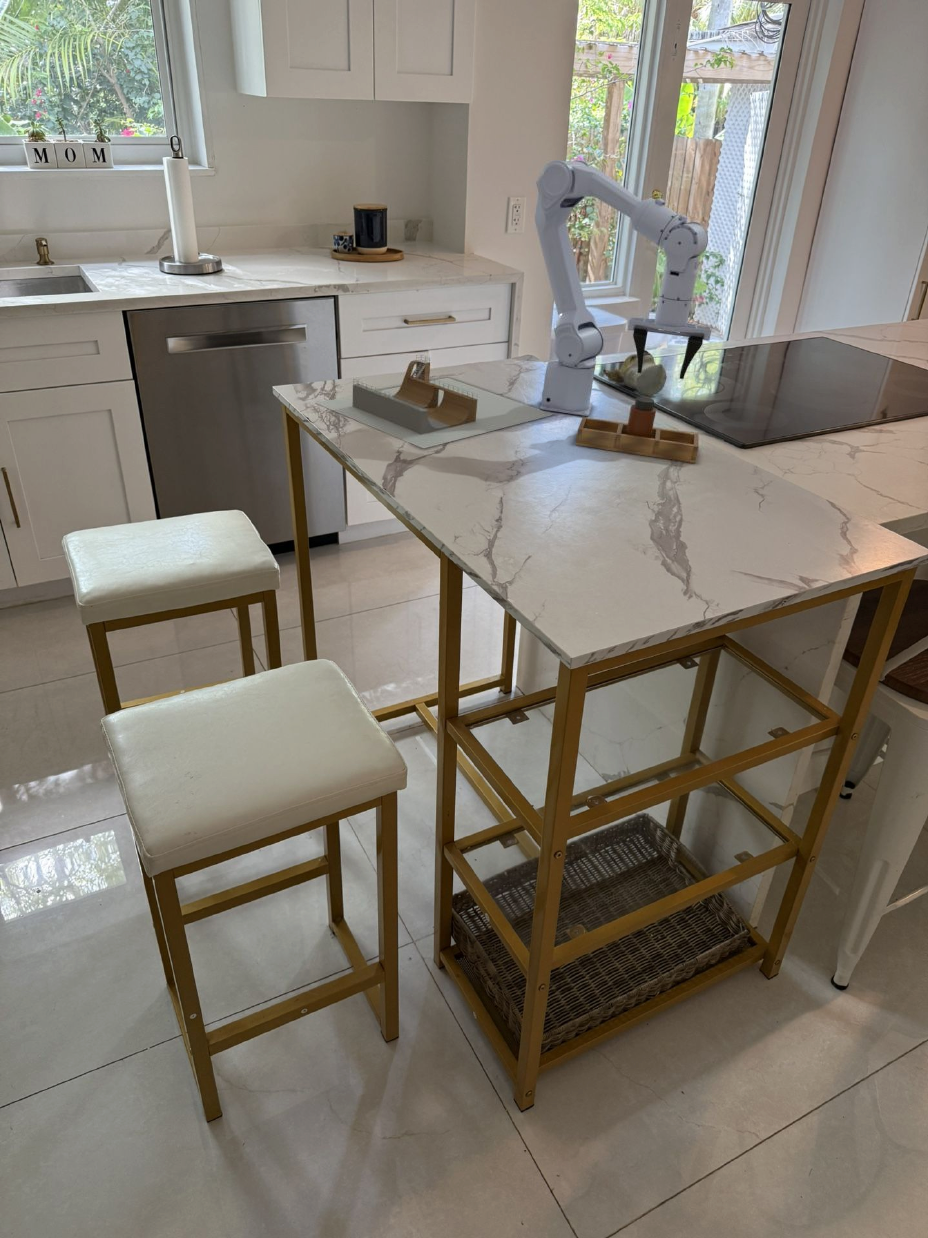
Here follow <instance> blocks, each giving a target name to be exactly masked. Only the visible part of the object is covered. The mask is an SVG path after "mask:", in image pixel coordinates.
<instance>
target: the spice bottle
mask: <svg viewBox="0 0 928 1238" xmlns="http://www.w3.org/2000/svg"><path fill="white" fill-rule="evenodd" d="M634 400H635V401H634V404H632V405H630V409H629V414H628V419H627V420H628V421H627V423H628V425H627V431H626V435H632V436H639V437H646V438H651V434H652V429H653V427H654V423H655V418H656V413H657V408H655V407H654V405H655V400H654V399H653V398H650V397H648V396H638V397H635V399H634Z"/></svg>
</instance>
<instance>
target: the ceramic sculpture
mask: <svg viewBox="0 0 928 1238" xmlns="http://www.w3.org/2000/svg"><path fill="white" fill-rule="evenodd" d="M602 371H603V373H604V375H605V377H607V378H608V379H609V380H610V381H612V382H614V383H618V384H619V383H621V384H624V385H625V386H626V387H628V388H629V389H630V388H631V389H633V390H637V391H638V393H639V394H640V395H643V396H645V397H651V396H654V395H657V394H659V393H661V391H662V390H663V389H664V387H665V384H666V382H667V378H668V376H667V370H666V368H665V367H664V366H663V364H662V363H658V364H657V363H656V362H655V358H654V355H653V354H651V353H650V352H649V351H648V350H644V357H643V366H642V372H641V373H637V372H638V358H637V353H634V354H633V353H632V354H630V355H628V356H627V357H626V358H625V360H624V361H623V363H622V366H621V367H620V369H617V368H615V369H611V370H609V369H603V370H602Z"/></svg>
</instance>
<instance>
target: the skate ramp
mask: <svg viewBox="0 0 928 1238" xmlns="http://www.w3.org/2000/svg"><path fill="white" fill-rule="evenodd" d="M419 358H420V359H419ZM414 367H415V370H414ZM413 370H414V371H413ZM430 372H431V357H429V356H426V355H423V354H420V357H419V354H417V355H416V358H415V359H414V360H411V361H410V362H409V363H408V365H407V369H406V371H405V374H404V376H403V379H402V383H401V385H400V386H397V387H392V388H386V389H380V388H378V390H377V388H376V387H375V386H372V385H370V387H369V386H368V384H366V383H363V382H361V381H360V380H356V379H355V378H354V379H353V384H352V395H350V396H344V397H339V398H334V399H329V400H324V401H319V402H315V404H316V405H319V406H321V407H324V408H326V409H328V410H331V411H333V412H336V413H337V414H340V415H343V416H345V417H348V418H350V419H353V420H355V421H357V422H359V423H362V424H364V425H366V426H368V427H372V428H373V429H376V430H378V431H381V432H383V433H385V434H388V435H390V436H393V437H395V438H397V439H399V440H402V441H405V442H407V443H409V444H412V445H414V446H416V447H419V448H421V449H427V448H431V447H435V446H438V445H443V444H447V443H450V442H454V441H457V440H462V439H465V438H470V437H473V436H478V435H481V434H485V433H489V432H493V431H497V430H500V429H505V428H508V427H513V426H516V425H519V424H524V423H528V422H531V421H535V420H539V419H543V418H547V417H551V416H554V415H555V414H553V413H551V412H548V411H546V410H542V409H539V408H537V407H533V406H531V405H529V404H525V403H522V402H520V401H516V400H513V399H510V398H508V397H504V396H502V395H500V394H496V393H493V392H490V391H488V390H484V389H481V388H479V387H476V386H474V385H470V384H468V383H464V382H461V381H458V380H455V379H452V378H449V377H444V378H439V379H435V378H433V379H432V380H430ZM360 383H361V384H360Z"/></svg>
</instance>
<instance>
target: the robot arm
mask: <svg viewBox="0 0 928 1238" xmlns="http://www.w3.org/2000/svg"><path fill="white" fill-rule="evenodd" d="M535 185H536V188H537V198H536V206H535V213H534V223H535V227H536V231H537V236H538V240H539V242H540V246H541V251H542V254H543V255H542V256H543V259H544V264H545V268H546V272H547V276H548V280H549V284H550V288H551V292H552V297H553V300H554V304H555V308H556V311H557V319H556V323H555V324H554V327H553V331H554V336H555V339H554V347H553V348H554V354H555V356H556V358H557V360H551V359H550V360H548V361H547V363H546V368H545V373H544V380H543V388H542V392H541V403H540V404H541V405H540V410H542V411H549V412H556V413H563V414H570V415H577V416H582V417H589V416H590V413H591V410H592V408H593V403H592V402H591V396H592V390H593V382H594V379H595V378H594V376H595V371H596V366H597V365H596V364H597V361H596V360H597V357H598V356H599V355H600V354H601V353H602V351H603V350H604V347H605V336H604V334H603V332H602V330H601V329H600V328H599V326H598V324H597V323H596V322H597V321H596V317H595V315H593V314H592V313H591V311H589V309H588V308H587V306H586V301H585V297H584V293H583V288H582V285H581V284H582V283H581V280H580V276H579V272H578V267H577V263H576V259H575V255H574V250H573V247H572V243H571V238H570V234H569V230H568V229H569V228H568V226H567V221H568V219H569V217H570V216H571V214H572V212H573V211H574V209H575V207H576V206H577V205H579V204H580V203H581V202H582V201H583V200H584V199H585V198H586V197H594V198H596V199H597V200H599V201H601V202H603V203H605V204H606V205H608V206H609V207H611V208H613V209H614V210H616V211H618V212H619V213H621V214H623V215H625V216H626V217H628V218H630V222H631V226H632V229H633V230H634V231H635V232H637V233H638V234H640V235H641V236H642V237H644V238H646V239H647V240H649V241H650V242H652V243H653V244H655V245H656V246H658V247H659V248H661V249H663V252H664V254H665V256H666V259H665V265H664V267H663V274H662V279H661V283H660V288H659V289H660V290H659V293H658V294H659V295H658V300H657V306H656V311H655V317H654V318H646V317H645V318H644V317H643V318H642V317H631V316H630V317H629V319H628V320H629V321H628V325H627V330H628V331H633V332H632V338H633V341H634V346H635V349H636V350H635V351H636V354H637V358H638V372H637V373H641V372H642V366H643V357H644V350H645V349H646V345H647V337H648V333H654V334H660V335H661V334H662V335H663V334H664V335H669V336H677V337H684V338H685V337H686V338H687V343H686V349H685V354H684V357H683V361H682V365H681V368H680V373H679V379H680V380H684V379H685V376H686V373H687V370H688V368H689V366H690V364H691V362H692V361H693V359H694V357H695V356H696V354H697V353H698V352H699V350H700V349H701V347H702V346H703V343H704V341H708V342H709V341H710V340H711V335H712V327H709V326H703V325H698V324H693V323H688V321H689V315H690V311H691V305H692V300H693V296H694V293H695V292H694V291H695V286H696V281H697V276H698V270H699V264H700V260H701V257H700V256H702V255H703V254H704V252H705V251H706V249H707V247H708V244H709V234H708V231H707V230H706V229H705V228H704V226H702V224H701V223H700V222H698V221H689V222H688V221H687V219H688V216H687V215H685V214H683V213H681V214H678V213H677V212H675V211H673V210H672V209H670V208H669V207H668V206H666V205H665V204H666V201H665V200H664V199H663V198H660V197H658V198H656V199H655V198H653V197H648V198H646V199H644V200H642V199H641V198H639V197H638V196H636V195H635V194H634V193H633V192H631V191H630V190H628V189H626V188H625V187H624V186H623V185H621V184H620V183H618V182H617V181H615V179H613V178H612V177H610V176H609V175H608V174H607V173H605V172H603V171H602V170H600V169H599V167H596V166H593V165H590V164H589V163H588V162H586V161H584V160H578V159H577V160H573V161H571V160H561V159H554V160H552V161H549V162H548V163H547V164H546V165H545V166H544V167H543V168H542V170H541V172H540V174H539V176H538V178H537V180H536V182H535Z"/></svg>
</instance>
